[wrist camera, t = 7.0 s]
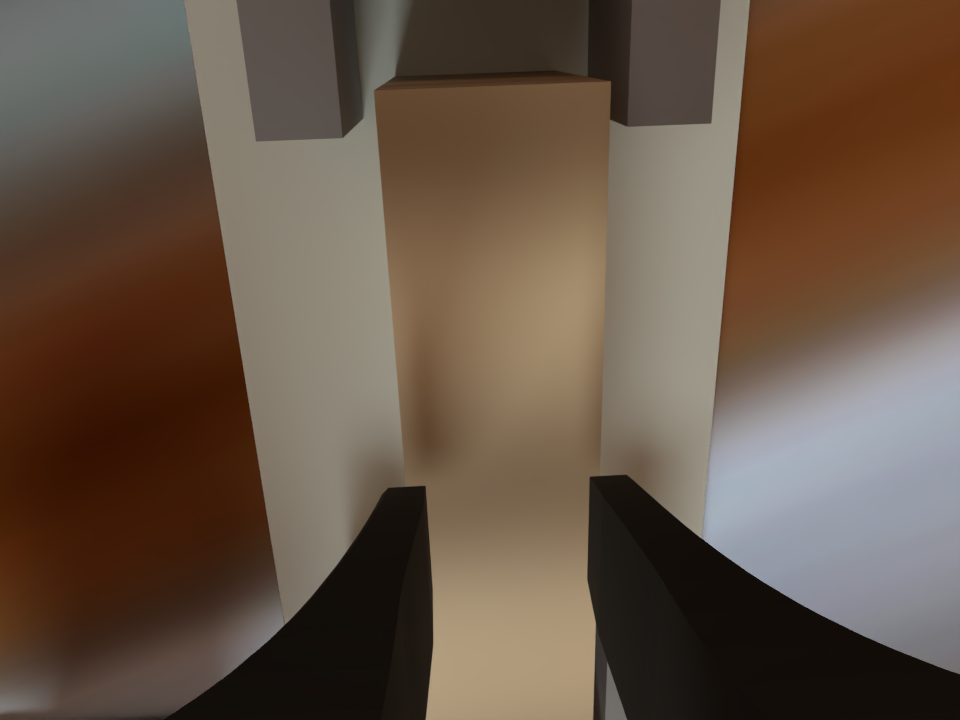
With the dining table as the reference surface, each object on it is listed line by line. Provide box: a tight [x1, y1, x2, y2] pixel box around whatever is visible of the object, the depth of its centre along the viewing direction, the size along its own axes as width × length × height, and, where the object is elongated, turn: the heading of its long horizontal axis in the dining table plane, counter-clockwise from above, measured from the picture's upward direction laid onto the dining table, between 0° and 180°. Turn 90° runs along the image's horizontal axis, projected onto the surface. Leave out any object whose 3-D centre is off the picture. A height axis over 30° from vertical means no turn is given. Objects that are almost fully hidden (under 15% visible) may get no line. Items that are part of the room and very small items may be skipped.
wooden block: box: [374, 70, 611, 720], centre depth 17 cm, size 14×4×6 cm, turn 2°
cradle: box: [184, 0, 750, 720], centre depth 18 cm, size 22×12×5 cm, turn 2°
